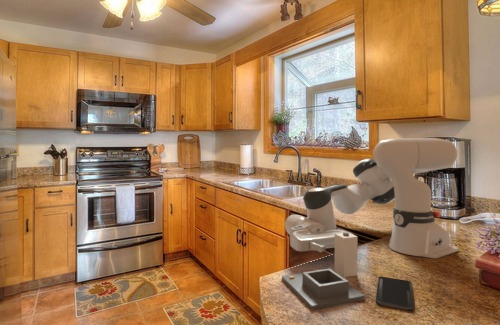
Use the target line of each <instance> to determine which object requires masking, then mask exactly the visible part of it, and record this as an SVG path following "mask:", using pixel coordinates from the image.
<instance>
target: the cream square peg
mask: <svg viewBox="0 0 500 325" xmlns="http://www.w3.org/2000/svg"><path fill="white" fill-rule="evenodd" d="M348 232H349V231H347V232H344V233H338V234H335V247H334V267H333V268H334V269H333V271H334V272H336V273H337V274H339V275H340V276H342V277H343V278H347V277H355V276H358V238H359V237H358V236H357V235H356V234H354V233H352V234H350V233H351V232H350V233H348Z"/></svg>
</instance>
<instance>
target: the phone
mask: <svg viewBox="0 0 500 325" xmlns="http://www.w3.org/2000/svg"><path fill="white" fill-rule="evenodd" d="M376 289H377V290H376V296H375V304H376V305H378V306H381V307H383V308H384V307H386V308H390V309H395V310H400V311H402V312H403V311H405V312H409V313H412V312H414V311H415V300H414V292H413V284H412V281H409V280H405V279H399V278H395V277H394V278H393V277H388V276H378V280H377V287H376Z"/></svg>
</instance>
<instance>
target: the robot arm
mask: <svg viewBox="0 0 500 325" xmlns="http://www.w3.org/2000/svg"><path fill="white" fill-rule="evenodd" d="M457 150H458V149H457V147H456V146H455V144H454V143H453V142H452V141H451V140H449V139H443V138H437V137H415V138H414V137H410V138H409V137H407V138H406V137H402V138H401V137H399V138H398V137H397V138H395V137H393V138H388V139H384V140H380V141H378V143H377V144H376V145H375V147H374V149H373V152H372V153H373V154H372V155H373V158H365V159H362V160H360V161H358V162H357V163H356V164H355V165H354V167H353V170H352V172H353V175H354V177H355V178H357V180H358V182H359V183H360V184H359V183H354V184H350V185H348V186H347V185H346V184H344V183H343V184H331V185H326V186H323V187H313V188H311V189H308V190H306V192H305V194H304V195H303V197H302V199H303V202H304V203H303V204H304V206H305V210H306V215H307V216H303V215H300V214H293V213H292V214H290V215H289V216H288V217H287V218H286V221H285V223H284V224H285V225H284V226H285V231H286V232H287V233H288V235H289V244H290V247H291V248H292V249H294V250H295V251H297V252H300V253H301V252H311V251H315V252H316V251H317V252H319V253H321V254H322V253H326V249H332V248H333V249H335V234H338V233H344V232H348V233H350V234H353V233H352V232H350V231H346V230H344V229H338V228H337V223H336V217H335V214H334V208H336V210H337V211H338V212H340V213H341V214H344V215H353V214H355V213H357V212H359V211H360V210H361V209H362V208H363V207H364V206H365V204H366V203H368V201H372V202H371V204H377V205H385V204H390V203H392V202H394V207H393V210H392V216H393V217H392V218H393V223H392V229H391V236H390V238H389V245H388V248H390V249H391V250H393V251H395V252H398V253H400V254H404V255H410V256H413V257H414V256H415V257H425V258H428V259H429V258H430V259H439V258H442V257H445V256H449V255H450V254H454V253H456V252H459V248H458V247H457V246H455V245H453V244H451V242H450V241H451V238H450V237H451V236H450V234H449V232H448V231H447V230H446V229H444V228H443V227H442V226H441V225H440V224H438V223H437V222H436V219H435V218H441V211H436V210H433V211H432V190H431V188H430V186H429V185H428V184H427V183H426V182H424V181H422V180H420V179H418V178H415V176H414V175H416V174H422V173H428V172H431V171H432V172H433V171H437V170H444V169H448V168H451V167H452V166H453V165H455V162H456V160H457V157H458V151H457ZM333 205H334V206H333Z"/></svg>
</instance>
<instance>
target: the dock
mask: <svg viewBox="0 0 500 325" xmlns="http://www.w3.org/2000/svg"><path fill="white" fill-rule="evenodd" d="M281 281H282V282H284V284H286V285H287V287H289V289H291V291H293V293H294V294H296V296H297V297H298V298H300V300H301V301H303V302H304V304H305V305H306V306H308V307H309V309H311V311H315V310H319V309H325V308H330V307H334V306H335V307H336V306H340V305H344V304H345V305H346V304H350V303H355V302H359V301H364V300H365V296H366V295H365V294H363V293H362V292H360V291H359V290H357V289H356V288H354V287H353V286H352V285H350V284H349V282H350V281H349V280H348V279H346V278H345V277H342V276H341V275H339V274H338V273H336V272H335V271H334V269H331V268H330V267H329V268H324V269H317V270H312V271H304V272H299V273H293V274H289V275H288V274H287V275H282V276H281Z"/></svg>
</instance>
